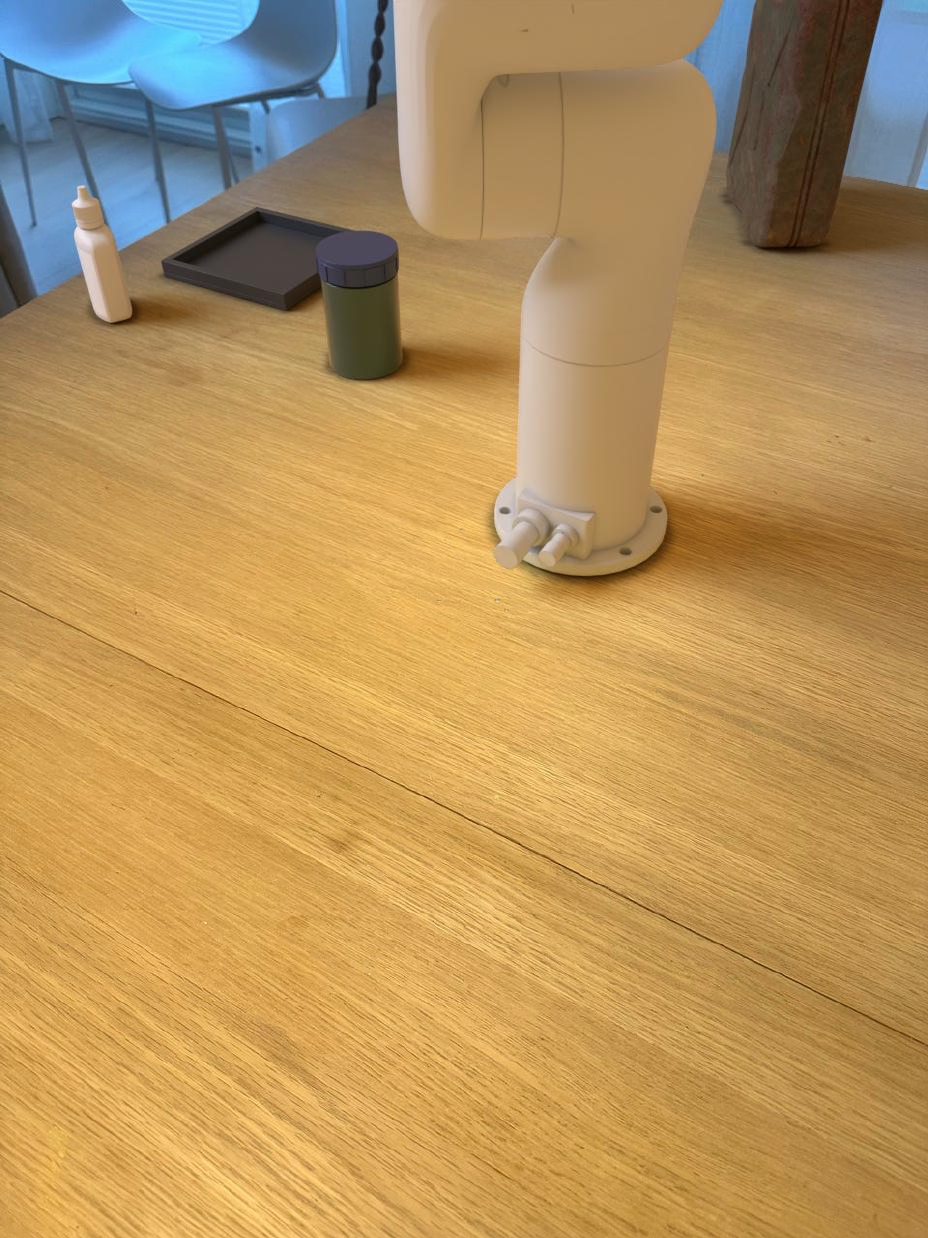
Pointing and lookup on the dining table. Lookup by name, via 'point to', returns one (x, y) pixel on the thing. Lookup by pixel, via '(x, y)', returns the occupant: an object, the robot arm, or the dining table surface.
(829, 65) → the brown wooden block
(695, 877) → the dining table surface
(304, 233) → the tray
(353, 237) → the jar lid
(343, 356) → the jar
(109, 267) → the eye dropper bottle
